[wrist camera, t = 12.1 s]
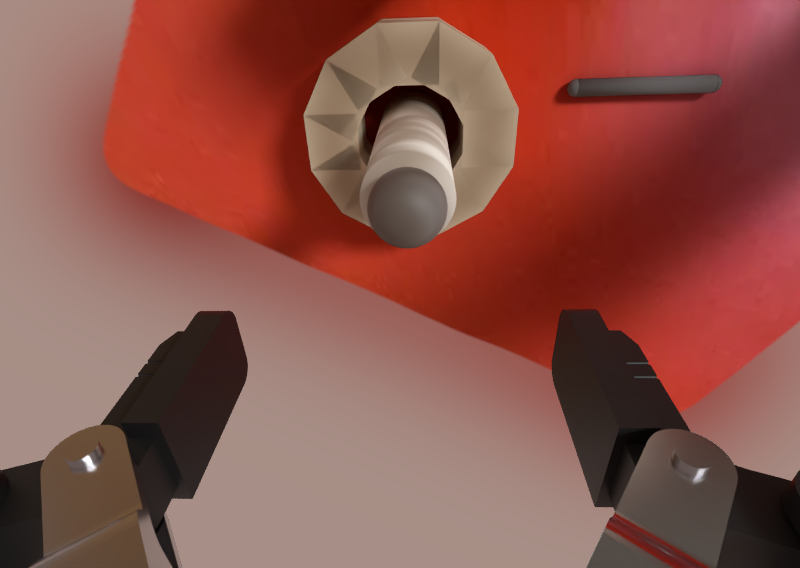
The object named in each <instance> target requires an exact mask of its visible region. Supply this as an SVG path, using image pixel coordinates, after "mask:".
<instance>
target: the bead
mask: <svg viewBox="0 0 800 568" xmlns="http://www.w3.org/2000/svg"><path fill="white" fill-rule="evenodd" d="M407 85H425V86H427V87H428V88H430V89H432V90H434V91H435V92H437V93H439V94H440V95H442V96H444V97H446V98H447V99H449V100H450V101H451V103H452V105H453V107H454V109H455V111H456V113H457V114H458V136H457V138H456V140H455V141H454V143H453V145H452V146H451V148H450V150H449V154H450V160H451V166H452V171H453V177H454V183H455V189H456V199H457V200H456V207H455V211H454V214H453V217H452V218H451V220H450V222H449V223H448V225H447V226H446V227H445V228H444V229H443V230H442V231H441V232H440V233H442V232H444V231H446V230H448V229H450V228H452V227H453V226H455V225H457V224H459V223H461V222H463V221H465V220H467V219H468V218H470V217H472V216H474V215H476V214H478V213H480V212H482V211H483V210H484V208H485V207H486V205H487V204H488V203H489V201H490V200H491V198H492V197H493V195H494V194H495V192H496V191H497V189H498V188H499V186H500V185H501V184H502V182H503V181H504V179H505V178H506V176H507V175H508V173H509V172H510V170H511V169H512V167H513V164H514V153H515V143H516V132H517V122H518V112H519V109H518V107H517V104H516V102H515V100H514V98H513V96H512V94H511V92H510V89H509V87H508V85H507V83H506V81H505V79H504V77H503V75H502V72H501V70H500V68H499V66H498V64H497V62H496V60H495V58H494V55H493V54H492V53H491V52H490V51H489V50H488V49H487V48H485V47H484V46H483V45H481V44H480V43H478V42H477V41H475V40H473V39H472V38H470V37H469V36H467V35H465V34H464V33H462V32H461V31H459V30H457V29H456V28H454V27H453V26H451V25H449V24H448V23H446V22H445V21H443V20H441V19H440V18H438V17H421V18H395V19H381V20H380V21H378V22H377V23H376V24H374V25H373V26H371V27H370V28H369V29H367V30H366V31H365V32H363V33H362V34H360V35H359V36H358V37H356V38H355V39H354V40H352V41H351V42H349V43H348V44H347V45H345V46H344V47H343V48H341V49H340V50H338V51H337V52H336V53H334V54H333V55H332V56H330V57H329V58H328V59H326V61H325V63H324V66H323V68H322V71H321V73H320V76H319V78H318V81H317V83H316V85H315V88H314V90H313V93H312V95H311V98H310V100H309V103H308V105H307V108H306V110H305V113H304V122H305V130H306V137H307V144H308V151H309V158H310V165H311V171H312V172H313V174H314V175H315V177H316V178H317V179H318V181H319V182H320V183H321V185H322V186H323V187H324V189H325V190H326V192H327V193H328V194H329V196H330V197H331V198H332V200H333V201H334V202H335V204H336V205H337V206H338V208H339V209H340V211H341V212H342V213H343V214H345V215H347V216H349V217H351V218H353V219H355V220H357V221H359V222H361V223H363V224H365V225H367V226H369V227H370V225H369V224H368V223H367V221H366V220H365V218H364V216H363V213H362V210H361V207H360V189H361V185H362V182H363V178H364V175H365V172H366V169H367V165H368V162H369V159H370V156H371V152H372V149H373V147H372V146H371V144H370V143H369V141H368V140H367V138H366V124H365V112H366V109H367V107H368V105H369V103H370V102H371V101H373V100H374V99H376V98H377V97H379V96H380V95H382V94H383V93H385V92H386V91H388V90H389V89H391V88H392V87H394V86H407ZM440 233H439V234H440Z"/></svg>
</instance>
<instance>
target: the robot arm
mask: <svg viewBox="0 0 800 568" xmlns="http://www.w3.org/2000/svg"><path fill="white" fill-rule="evenodd" d="M247 369H248V363H247V357H246V354H245V350H244V346H243V342H242V339H241V335H240V332H239V328H238V325H237V321H236V318H235V315H234V314H233V312H231V311H200V312H198V313H197V314H196V315H195V317H194V318H193V319H192V321H191V322H190V324H189V325H188V327H187V328H186V330H185V331H183V332H182V331H178V332H176V333H175V334H174V335H172V336H171V337H170V338H168V339H167V340H166V341H164V342H163V343H162V344H160V345H159V346H158V348H157V349H156V351H155V352H154V353H153V354H152V356H151V358H150V359H149V360H148V364H145V365H144V367H143V368H142V369H141V371H140V372H139V373H138V375H139V376H138V377H135V379H134V380H133V382H132V383H131V384H130V386H129V387H128V388H127V390H126V391H125V392H124V394H123V395H122V396H121V398H120V399H119V401H118V402H117V403H116V405H115V406H114V407H113V409H112V410H111V411H110V413H109V414H108V415H107V417H106V418H105V419H104V421H103V422H102V423H101V425H98V426H93V427H89V428H86V429H84V430H81V431H79V432H76V433H74V434H73V435H71V436H69V437H68V438H66V439H64V440H63V441H62V442H60V443H59V444H58V445H57V446H56V447H55V448H54V449H53V450H52V451H51V452H50V453H49V454H48V456H47V457H46V458H45V460H41V461H37V462H33V463H30V464H26V465H21V466H17V467H13V468H9V469H5V470H0V568H182V565H181V561H180V558H179V554H178V551H177V548H176V544H175V541H174V537H173V534H172V530H171V527H170V523H169V519H168V517H167V515H166V513H165V512H166V510H167V507H168V505H169V503H170V501H171V499H172V498H178V499H192V498H193V496H194V494H195V492H196V490H197V488H198V486H199V483H200V481H201V479H202V477H203V474H204V472H205V470H206V468H207V466H208V463H209V461H210V459H211V457H212V454H213V452H214V450H215V448H216V446H217V444H218V441H219V439H220V437H221V435H222V432H223V430H224V428H225V426H226V424H227V421H228V419H229V417H230V415H231V413H232V410H233V408H234V406H235V404H236V401H237V399H238V397H239V395H240V393H241V391H242V388H243V386H244V384H245V381H246V377H247ZM552 375H553V382H554V385H555V389H556V391H557V395H558V398H559V401H560V404H561V407H562V410H563V413H564V416H565V419H566V422H567V425H568V428H569V431H570V434H571V437H572V440H573V443H574V446H575V449H576V452H577V455H578V458H579V461H580V464H581V467H582V470H583V473H584V476H585V479H586V482H587V485H588V488H589V491H590V494H591V497H592V500H593V503H594V506H595V507H614V510H615V513H614V515H613V517H611V518H610V519H609V521H608V523H607V525H606V527H605V529H604V531H603V533H602V535H601V538H600V540H599V542H598V544H597V546H596V548H595V551H594V553H593V555H592V557H591V559H590V561H589V563H588V565H587V568H800V471H798V473H797V474H796V476H795V477H794V479H793V480H792V481H790V480H786V479H782V478H779V477H775V476H771V475H767V474H763V473H759V472H756V471H751V470H748V469H745V468H742V467H738V466H736V465H734V463H733V462H732V460H731V459H730V458H729V456H728V455H727V454H726V453H725V452H724V451H723V450H722V449H721V448H720V447H718V446H717V445H716V444H714V443H713V442H711V441H710V440H708V439H707V438H704V437H703V436H700V435H698V434H696V433H693V432H690V430H689V428H688V426H687V425H686V423H685V421H684V420H683V418H682V417H681V415H680V413H679V411H678V410H677V408H676V406H675V405H674V403H673V402H672V400H671V398H670V397H669V395H668V393H667V392H666V390H665V388H664V387H663V385H662V383H661V382H660V380H659V379H657V375H656V373H655V372H654V370H653V368H652V367H651V365H648V360H647V359H646V357H645V355H644V354H643V352H642V350H641V349H640V347H639V345H638V344H637V343H635V342H634V341H633V340H632V339H630V338H629V337H628V336H627V335H625V334H624V333H623V332H622V331H609V330H608V328H607V326H606V325H605V323H604V321H603V319H602V317H601V315H600V314H599V312H598V311H597V310H595V309H587V310H563V311H562V312H561V314H560V318H559V324H558V329H557V335H556V341H555V346H554V352H553V358H552Z"/></svg>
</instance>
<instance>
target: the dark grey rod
mask: <svg viewBox="0 0 800 568" xmlns="http://www.w3.org/2000/svg"><path fill="white" fill-rule="evenodd" d="M721 86H722V78H721V77H720V76H718V75H687V76H655V77H623V78H591V79H574V80H572V81H571V82H570V83H569V84H568V87H567V91H568V94H569V95H570V96H573V97H586V96H620V95H654V94H689V93H713V92H716V91H717V90H719V89H720V87H721Z"/></svg>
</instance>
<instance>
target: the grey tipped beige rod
mask: <svg viewBox="0 0 800 568" xmlns="http://www.w3.org/2000/svg"><path fill="white" fill-rule="evenodd" d="M456 200H457V199H456V189H455V183H454V177H453V171H452V166H451V160H450V154H449V148H448V142H447V136H446V131H445V125H444V119H443V114H442V111H441V109H440V107H439V105H438V104H437V103H436V101H435V100H434V99H432V98H431V97H430V96H428V95H426V94H424V93H421V92H416V91H411V92H405V93H402V94H400V95H398V96H396V97H395V98H394V99H392V100H391V101H390V103H389V104H388V105H387V107H386V109H385V111H384V114H383V117H382V120H381V123H380V127H379V130H378V133H377V136H376V139H375V143H374V146H373V149H372V152H371V156H370V159H369V162H368V165H367V169H366V172H365V175H364V178H363V182H362V185H361V189H360V207H361V210H362V213H363V216H364V218H365V220H366V221H367V223H368V224H369V225H370V227H371V228H372V229H373V230H374V231H375V233H376V234H377V235H378V236H379V237H380V238H381V239H382V240H384V241H385V242H387V243H388V244H390V245H393V246H395V247H399V248H415V247H419V246H422V245H424V244H427V243H428V242H430V241H431V240H432V239H434V238H435V237H436V236H437V235H438V234H439V233H440V232H441V231H442V230H443V229H444V228H445V227H446V226H447V225H448V223H449V222H450V220H451V218H452V217H453V214H454V211H455V207H456Z"/></svg>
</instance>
